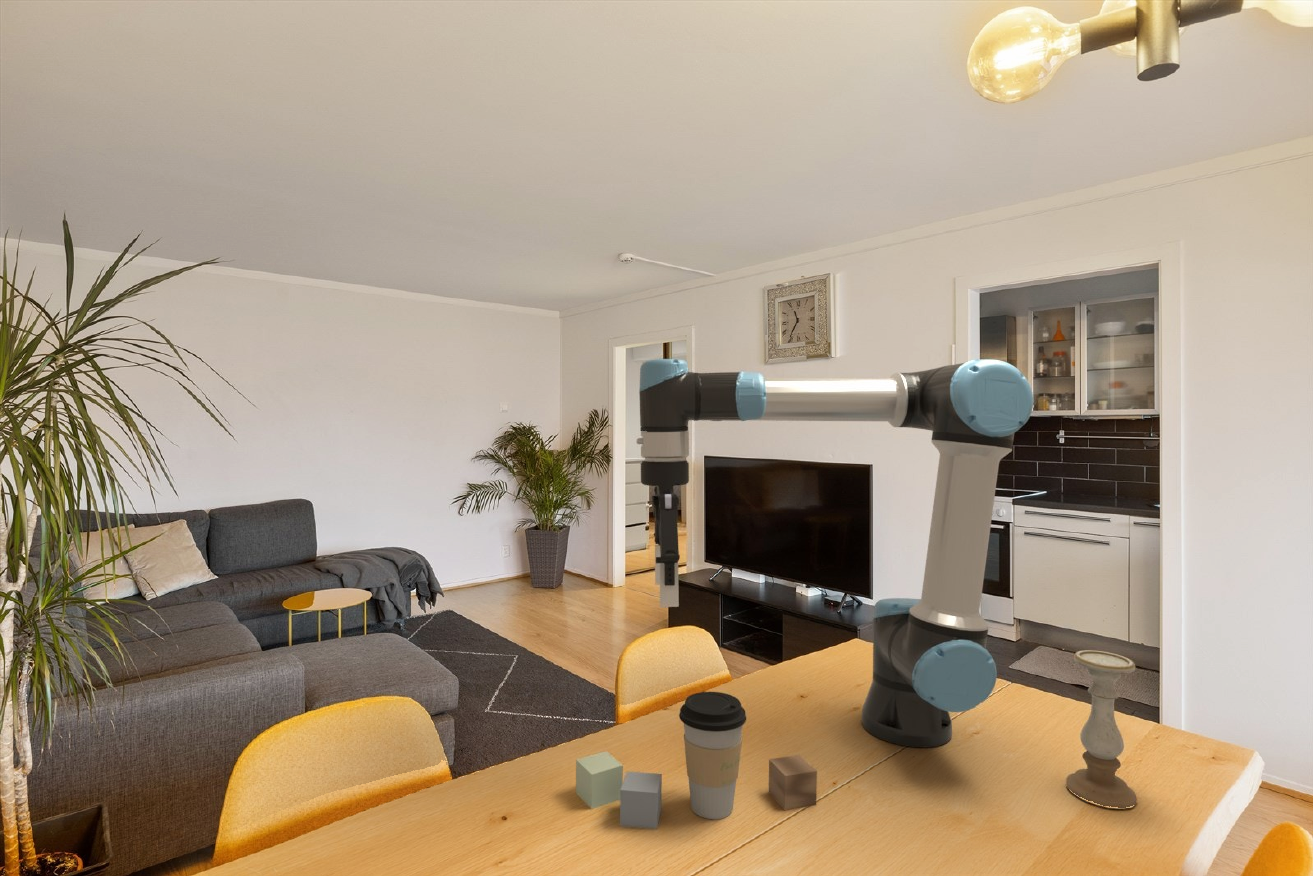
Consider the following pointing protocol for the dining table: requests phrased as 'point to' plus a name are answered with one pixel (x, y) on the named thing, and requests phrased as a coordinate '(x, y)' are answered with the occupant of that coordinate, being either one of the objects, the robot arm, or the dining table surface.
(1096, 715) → the candle holder
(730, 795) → the coffee cup
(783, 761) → the walnut cube
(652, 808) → the slate cube
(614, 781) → the sage cube
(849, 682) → the dining table surface
